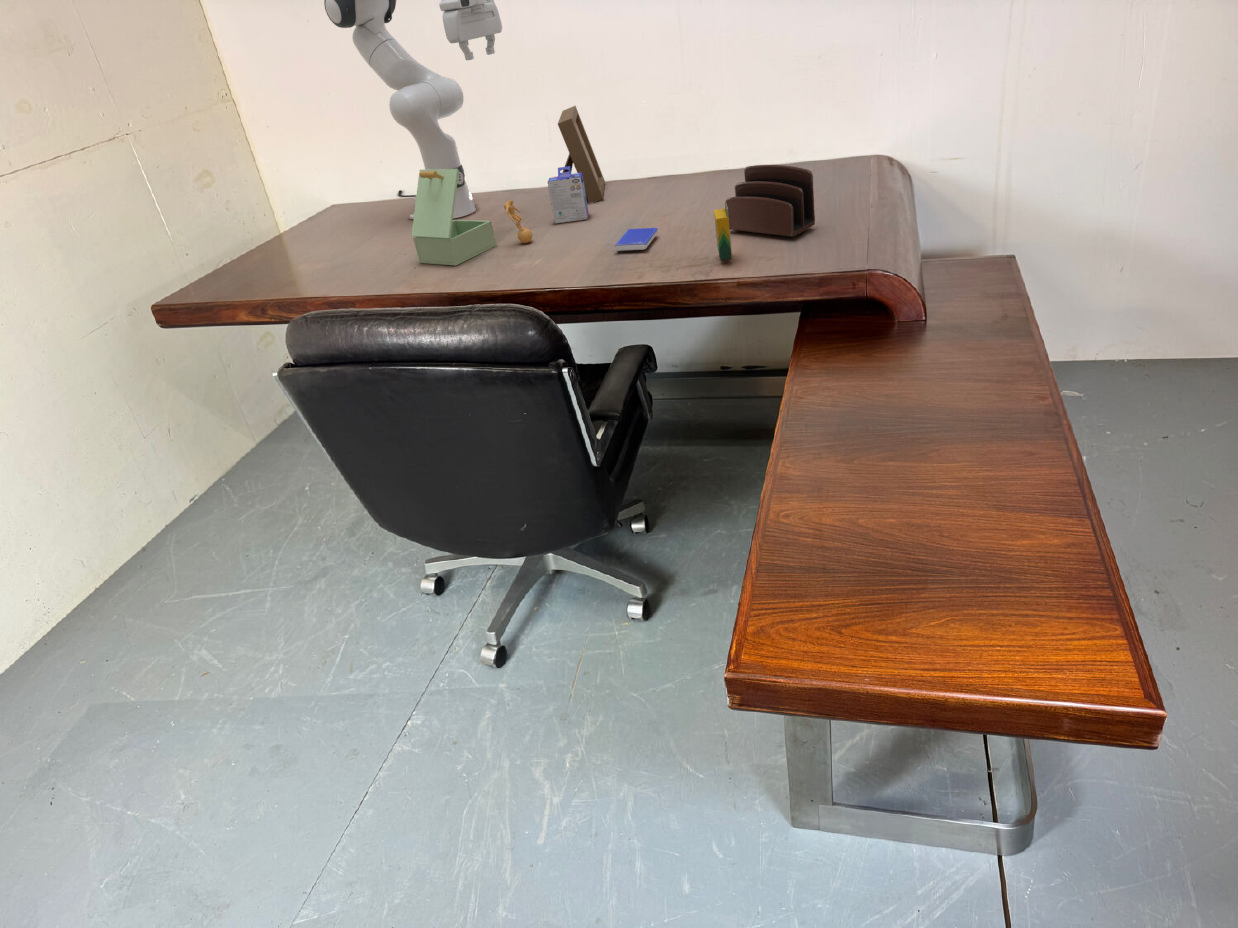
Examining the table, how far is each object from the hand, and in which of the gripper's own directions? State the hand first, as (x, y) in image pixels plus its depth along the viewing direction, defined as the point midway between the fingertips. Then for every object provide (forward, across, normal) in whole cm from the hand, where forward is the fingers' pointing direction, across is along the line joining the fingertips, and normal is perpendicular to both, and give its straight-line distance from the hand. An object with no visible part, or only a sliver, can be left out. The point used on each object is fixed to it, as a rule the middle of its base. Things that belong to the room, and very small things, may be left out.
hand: (480, 57), depth 225 cm
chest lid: (+31, +30, -1) cm, 43 cm away
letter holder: (+45, +1, +79) cm, 91 cm away
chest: (+45, +26, -1) cm, 52 cm away
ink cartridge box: (+45, -6, +16) cm, 49 cm away
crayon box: (+46, +22, +76) cm, 91 cm away
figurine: (+45, +16, +14) cm, 50 cm away
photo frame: (+45, -30, +5) cm, 54 cm away
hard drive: (+45, +14, +48) cm, 68 cm away
